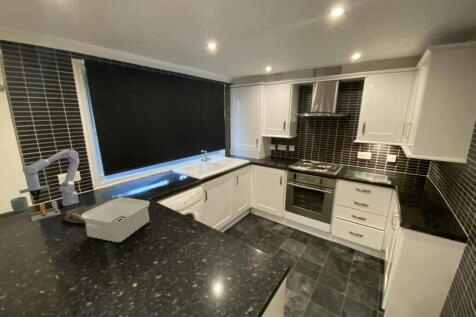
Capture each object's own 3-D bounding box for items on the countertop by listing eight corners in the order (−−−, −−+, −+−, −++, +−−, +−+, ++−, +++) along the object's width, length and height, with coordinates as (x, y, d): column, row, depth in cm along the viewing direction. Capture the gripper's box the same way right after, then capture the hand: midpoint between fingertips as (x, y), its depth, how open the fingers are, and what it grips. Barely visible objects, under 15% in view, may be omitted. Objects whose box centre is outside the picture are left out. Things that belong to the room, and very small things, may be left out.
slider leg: (45, 210, 143) (43, 202, 141) (47, 215, 136) (45, 207, 135) (40, 211, 141) (39, 204, 140) (42, 216, 134) (40, 208, 133)
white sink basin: (115, 252, 99) (111, 226, 97) (74, 242, 107) (70, 218, 104) (158, 219, 132) (156, 199, 129) (124, 214, 139) (122, 195, 136)
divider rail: (57, 207, 148) (56, 200, 146) (60, 212, 141) (58, 204, 140) (30, 214, 137) (28, 206, 136) (31, 219, 130) (29, 211, 129)
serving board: (81, 228, 121) (80, 219, 120) (58, 222, 129) (57, 213, 127) (133, 204, 157) (132, 197, 155) (112, 200, 164) (112, 193, 163)
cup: (20, 213, 138) (17, 201, 136) (10, 213, 138) (6, 200, 136) (32, 209, 146) (29, 196, 144) (22, 208, 146) (19, 196, 144)
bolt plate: (59, 210, 144) (58, 209, 144) (60, 213, 139) (60, 212, 139) (31, 217, 133) (30, 216, 133) (31, 221, 128) (31, 220, 128)
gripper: (46, 178, 143) (50, 195, 145) (17, 183, 132) (21, 201, 134) (48, 180, 138) (51, 198, 141) (17, 185, 127) (22, 204, 130)
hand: (37, 200), depth 137 cm, fingers closed
